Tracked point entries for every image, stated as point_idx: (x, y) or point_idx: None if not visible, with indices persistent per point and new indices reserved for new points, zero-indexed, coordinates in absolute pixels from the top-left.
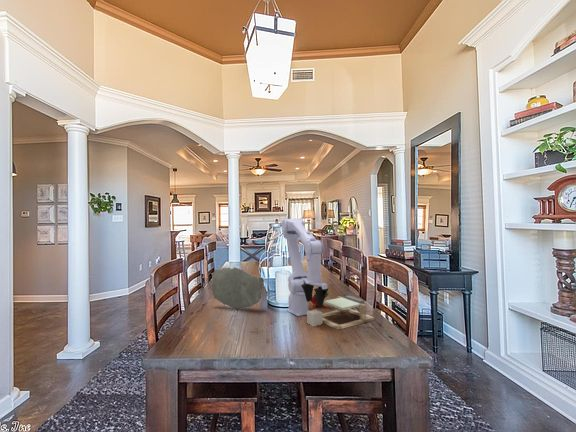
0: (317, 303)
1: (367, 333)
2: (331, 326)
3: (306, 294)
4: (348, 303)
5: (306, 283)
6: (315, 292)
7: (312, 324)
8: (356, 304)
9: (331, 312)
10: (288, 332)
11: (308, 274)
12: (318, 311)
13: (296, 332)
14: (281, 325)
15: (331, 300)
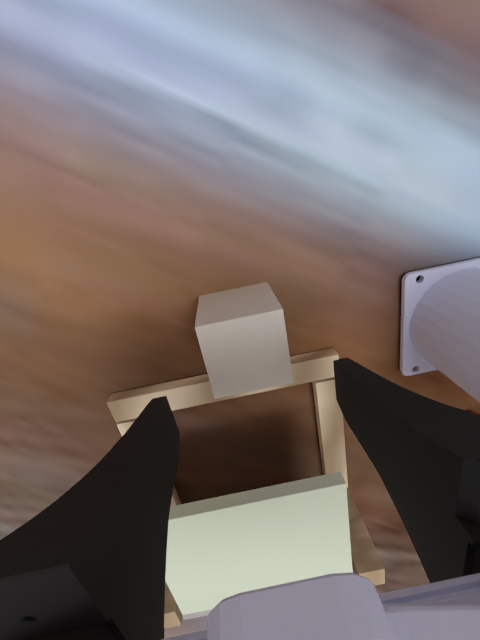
0: (154, 407)
1: (35, 483)
2: (162, 383)
3: (372, 397)
4: (217, 576)
5: (277, 597)
6: (103, 504)
7: (210, 297)
8: (181, 600)
9: (331, 455)
10: (148, 78)
11: None
12: (242, 382)
13: (132, 143)
14: (306, 81)
15: (327, 522)
